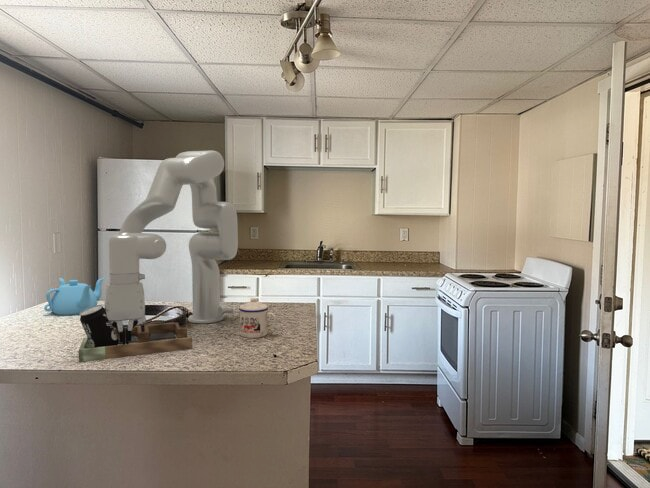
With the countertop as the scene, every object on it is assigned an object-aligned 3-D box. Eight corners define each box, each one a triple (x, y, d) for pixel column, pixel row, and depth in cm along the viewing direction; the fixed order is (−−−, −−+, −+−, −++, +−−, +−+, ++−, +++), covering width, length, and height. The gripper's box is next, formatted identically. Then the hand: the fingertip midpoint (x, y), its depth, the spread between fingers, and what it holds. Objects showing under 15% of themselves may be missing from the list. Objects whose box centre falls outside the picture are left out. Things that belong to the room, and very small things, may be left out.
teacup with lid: (234, 337, 131) (234, 300, 130) (245, 329, 140) (245, 295, 139) (271, 340, 128) (271, 302, 128) (280, 332, 137) (280, 296, 136)
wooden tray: (184, 330, 138) (184, 321, 138) (192, 348, 120) (191, 338, 120) (86, 340, 126) (86, 330, 126) (79, 361, 108) (78, 350, 108)
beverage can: (114, 351, 113) (97, 311, 110) (90, 357, 112) (73, 317, 109) (123, 340, 119) (108, 302, 116) (100, 346, 119) (84, 307, 116)
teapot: (106, 305, 174) (105, 276, 174) (91, 316, 156) (90, 283, 155) (60, 306, 171) (59, 277, 170) (39, 318, 153) (38, 284, 152)
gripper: (153, 276, 123) (153, 337, 124) (95, 278, 117) (96, 343, 118) (154, 279, 116) (155, 345, 117) (92, 282, 110) (94, 351, 111)
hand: (125, 344), depth 118 cm, fingers closed
